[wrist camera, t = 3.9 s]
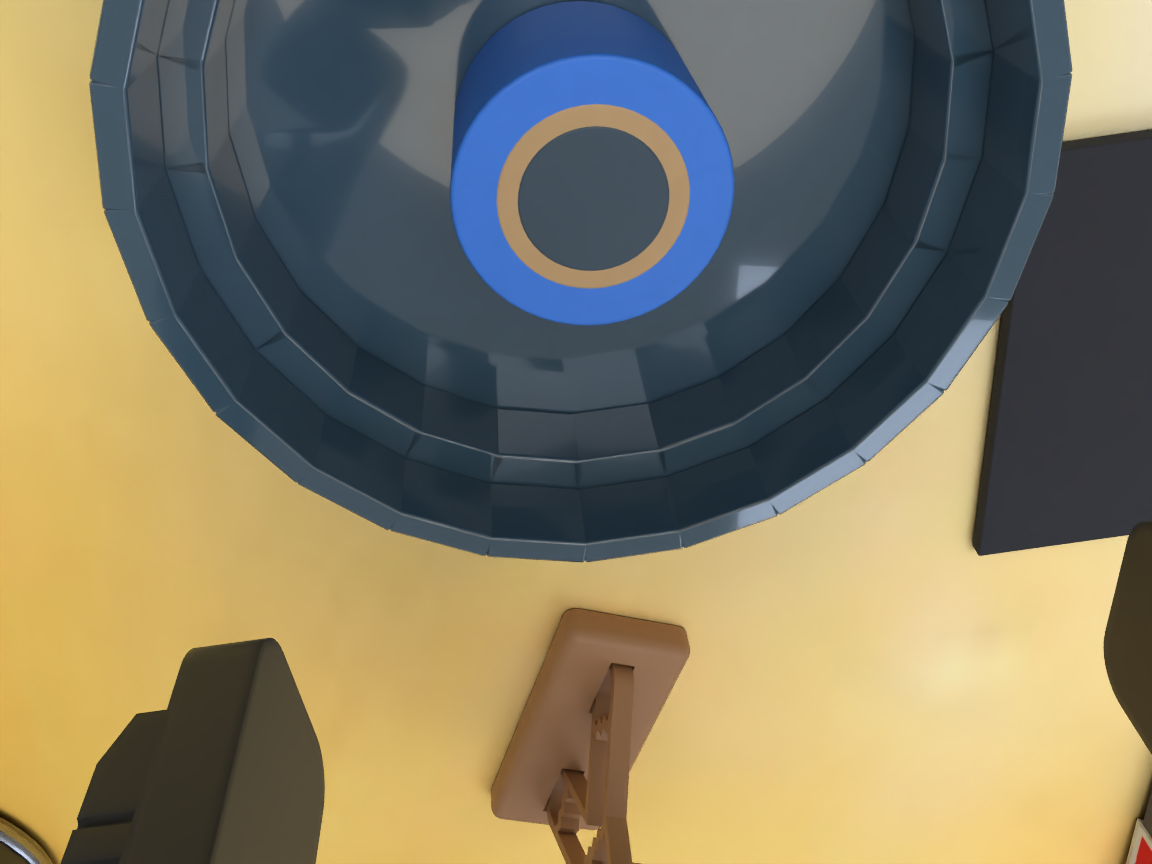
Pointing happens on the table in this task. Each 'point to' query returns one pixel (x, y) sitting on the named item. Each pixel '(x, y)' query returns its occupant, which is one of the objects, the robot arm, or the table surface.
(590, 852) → the brown scrollwork wall hook
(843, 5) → the bowl
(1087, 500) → the mat
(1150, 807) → the electronic device
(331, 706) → the table surface
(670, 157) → the tape roll
